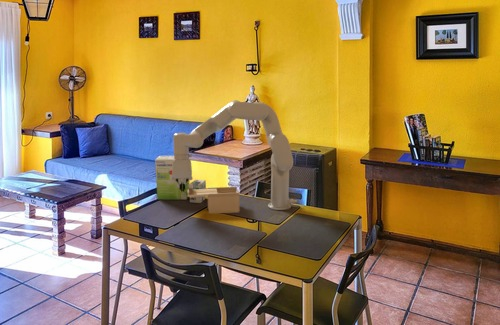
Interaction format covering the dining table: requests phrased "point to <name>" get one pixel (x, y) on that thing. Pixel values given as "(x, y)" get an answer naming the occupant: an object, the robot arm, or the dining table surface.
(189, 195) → the lid
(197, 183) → the light bulb box
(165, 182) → the green product box
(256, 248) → the dining table surface
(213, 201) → the carton
